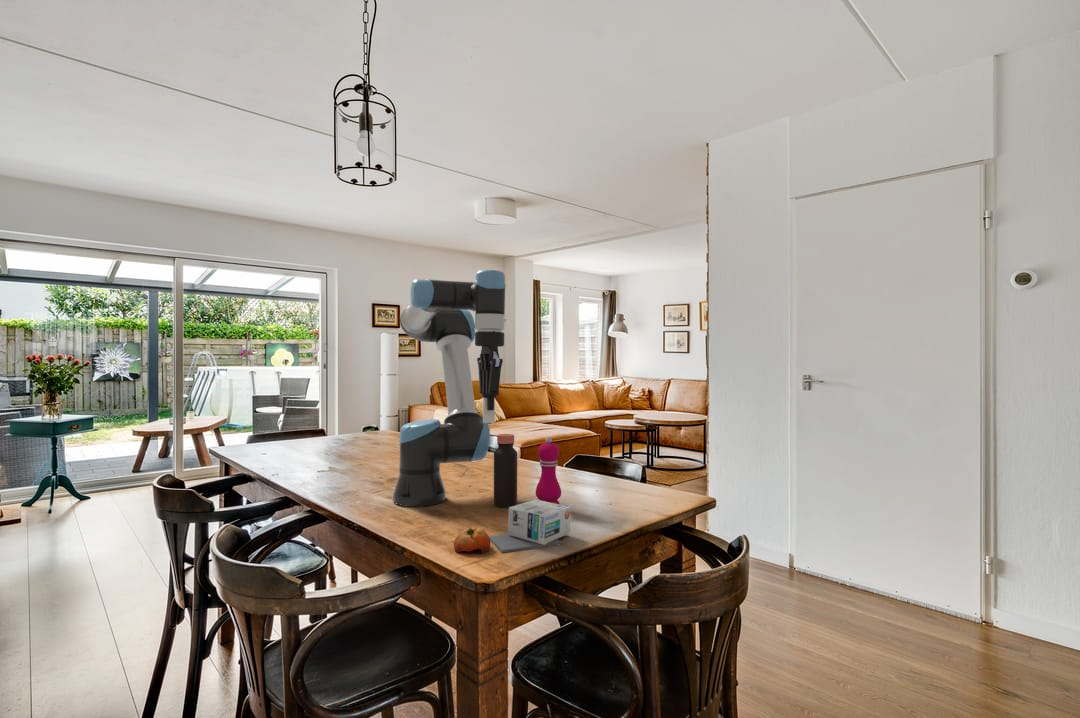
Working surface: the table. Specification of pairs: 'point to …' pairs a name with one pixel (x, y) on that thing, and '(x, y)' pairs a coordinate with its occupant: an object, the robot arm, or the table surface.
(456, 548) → the tomato
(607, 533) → the table surface
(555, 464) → the pepper mill
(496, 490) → the bottle
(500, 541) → the mat
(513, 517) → the light bulb box
